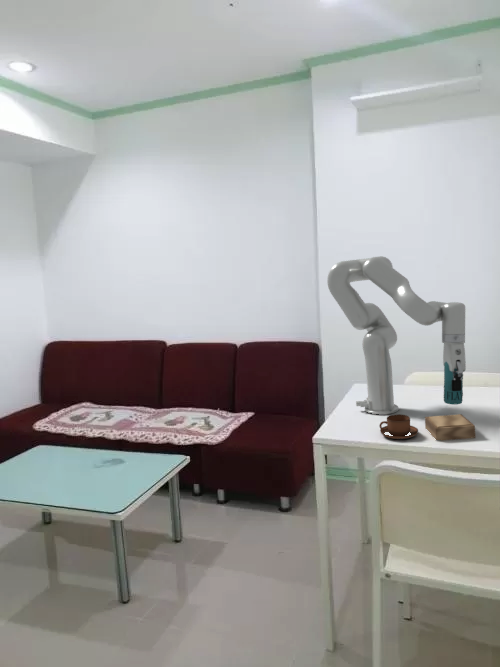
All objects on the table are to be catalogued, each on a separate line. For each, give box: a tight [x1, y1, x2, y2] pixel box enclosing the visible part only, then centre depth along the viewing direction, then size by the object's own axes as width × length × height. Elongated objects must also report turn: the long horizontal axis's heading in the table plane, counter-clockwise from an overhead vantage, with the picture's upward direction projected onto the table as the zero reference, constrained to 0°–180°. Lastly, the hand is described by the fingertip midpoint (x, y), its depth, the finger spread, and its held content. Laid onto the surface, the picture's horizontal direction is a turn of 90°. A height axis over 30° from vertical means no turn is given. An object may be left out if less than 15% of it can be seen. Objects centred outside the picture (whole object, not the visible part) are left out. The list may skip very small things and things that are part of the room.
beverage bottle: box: [442, 351, 464, 406], centre depth 181 cm, size 6×7×20 cm
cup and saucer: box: [379, 413, 419, 440], centre depth 169 cm, size 12×12×6 cm
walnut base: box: [424, 413, 476, 441], centre depth 166 cm, size 12×12×4 cm
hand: (453, 387), depth 181 cm, fingers closed on beverage bottle, 6 cm apart
